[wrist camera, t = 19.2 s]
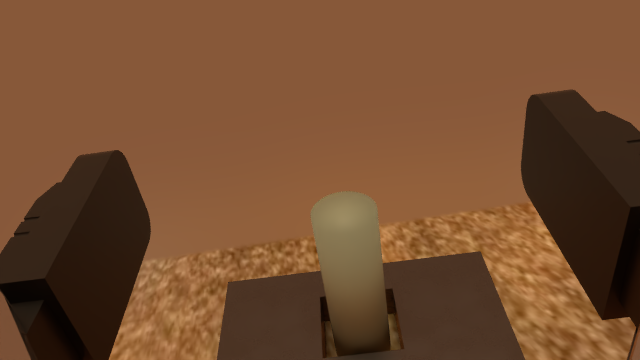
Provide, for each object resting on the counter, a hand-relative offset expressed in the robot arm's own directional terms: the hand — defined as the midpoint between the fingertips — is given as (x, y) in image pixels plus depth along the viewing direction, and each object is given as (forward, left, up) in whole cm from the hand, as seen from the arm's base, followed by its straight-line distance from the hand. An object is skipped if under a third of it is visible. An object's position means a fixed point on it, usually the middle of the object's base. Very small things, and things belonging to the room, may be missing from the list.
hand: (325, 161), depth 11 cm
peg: (+13, -14, -30) cm, 35 cm away
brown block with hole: (+13, -14, -30) cm, 35 cm away
